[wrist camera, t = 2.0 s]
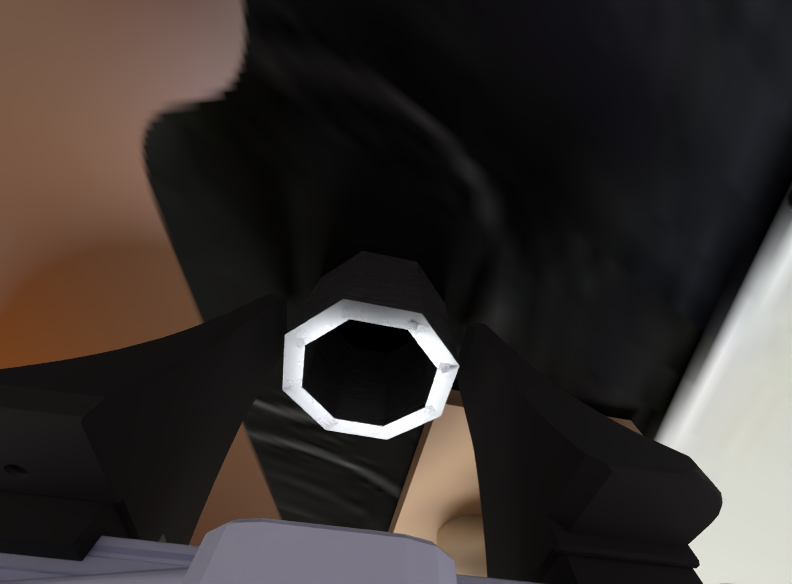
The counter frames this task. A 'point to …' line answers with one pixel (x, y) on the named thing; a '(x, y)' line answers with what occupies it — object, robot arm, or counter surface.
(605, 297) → the counter surface
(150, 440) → the robot arm
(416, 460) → the board
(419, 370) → the ring
